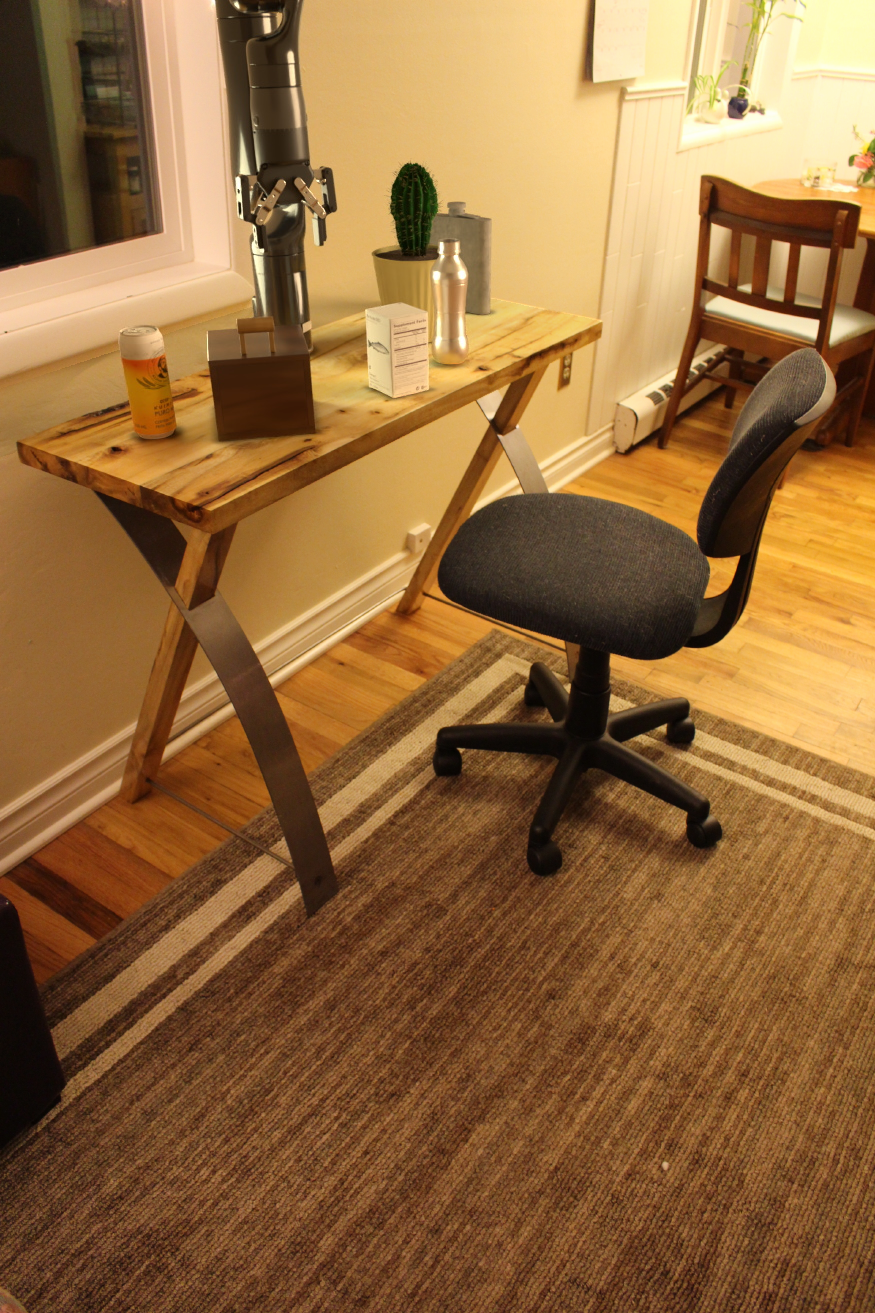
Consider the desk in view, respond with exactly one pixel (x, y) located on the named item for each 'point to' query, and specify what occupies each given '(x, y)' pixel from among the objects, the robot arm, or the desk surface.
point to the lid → (256, 343)
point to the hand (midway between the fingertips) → (291, 248)
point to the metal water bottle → (449, 304)
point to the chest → (263, 399)
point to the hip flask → (469, 251)
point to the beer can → (147, 381)
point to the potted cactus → (410, 243)
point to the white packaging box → (397, 349)
